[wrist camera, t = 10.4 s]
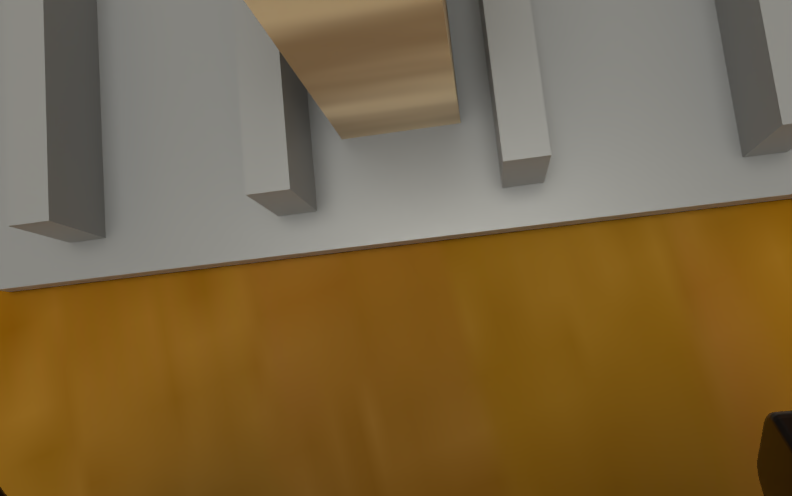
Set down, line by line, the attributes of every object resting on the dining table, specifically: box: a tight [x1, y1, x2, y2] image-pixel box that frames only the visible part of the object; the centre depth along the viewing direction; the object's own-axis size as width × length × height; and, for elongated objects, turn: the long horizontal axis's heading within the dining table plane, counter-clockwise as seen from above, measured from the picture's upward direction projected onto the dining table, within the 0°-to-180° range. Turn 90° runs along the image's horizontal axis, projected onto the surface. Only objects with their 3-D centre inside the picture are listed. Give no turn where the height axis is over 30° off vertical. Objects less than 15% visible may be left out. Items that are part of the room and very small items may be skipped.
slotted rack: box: [0, 0, 792, 292], centre depth 18 cm, size 10×22×3 cm, turn 96°
